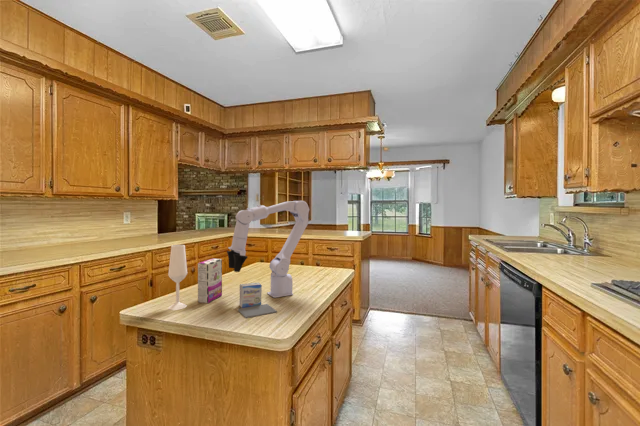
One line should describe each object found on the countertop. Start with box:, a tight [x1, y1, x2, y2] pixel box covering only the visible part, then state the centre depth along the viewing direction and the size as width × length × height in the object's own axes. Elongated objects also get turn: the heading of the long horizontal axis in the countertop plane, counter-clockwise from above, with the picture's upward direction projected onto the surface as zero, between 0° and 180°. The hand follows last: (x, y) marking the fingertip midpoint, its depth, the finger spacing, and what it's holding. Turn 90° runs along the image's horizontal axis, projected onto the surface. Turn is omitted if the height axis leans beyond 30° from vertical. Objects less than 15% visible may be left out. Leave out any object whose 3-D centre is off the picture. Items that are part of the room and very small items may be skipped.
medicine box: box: [238, 282, 263, 308], centre depth 119 cm, size 8×4×9 cm, turn 118°
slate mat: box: [237, 303, 278, 319], centre depth 112 cm, size 12×10×1 cm
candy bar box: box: [197, 258, 223, 304], centre depth 126 cm, size 11×5×16 cm, turn 168°
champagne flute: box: [167, 244, 188, 311], centre depth 115 cm, size 7×7×24 cm
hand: (234, 269), depth 125 cm, fingers open, 7 cm apart
